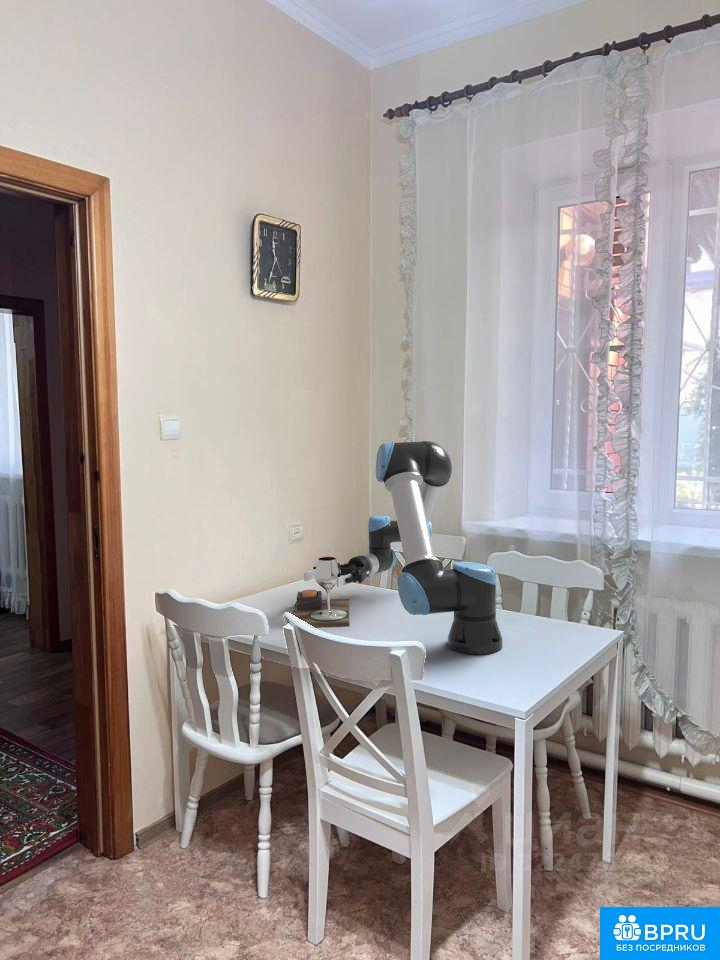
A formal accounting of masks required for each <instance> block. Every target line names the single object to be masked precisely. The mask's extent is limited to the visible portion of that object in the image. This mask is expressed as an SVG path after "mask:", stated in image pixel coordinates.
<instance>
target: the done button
mask: <svg viewBox="0 0 720 960" xmlns="http://www.w3.org/2000/svg"><path fill="white" fill-rule="evenodd" d="M317 591H318V590H316V589H304V590H301V592H302V597H316V596H317Z"/></svg>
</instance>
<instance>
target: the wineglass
mask: <svg viewBox="0 0 720 960" xmlns="http://www.w3.org/2000/svg"><path fill="white" fill-rule="evenodd" d="M316 562H317V563H316V566H315V567H316V570H315V578H314V579H315V581H316V583H317V584H318V585H319V586H320V587H321V588H322V589H324V590H325V592H326V600H327V611H322V612H320V613H319V615H320V616H323V617H333V616H337V615H338V614H339V612H337V611H333V610H330V600H331V599H330V598H331V597H330V593H331V590H332V589H333V588H334V587H336V586H337V579H336V578H338V577H341V576H340V573H341V570H339V566H338V563H339V562H338V560H337V558H336V557H333V556H322V557H319V558H318V559H317V561H316Z"/></svg>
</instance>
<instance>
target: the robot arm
mask: <svg viewBox="0 0 720 960" xmlns="http://www.w3.org/2000/svg"><path fill="white" fill-rule="evenodd" d="M452 471H453V465H452V461H451V457H450V456H449V454H448V452H447V451H446V450H445V449H444V447H442V446H441V445H440V444H438V443H436V442H434V441H428V440H423V441H404V442H395V441H392V442H384V443H382V444H380V445H379V448H378V449H377V453H376V459H375V477H376V480H377V482H380V483H383V484H384V489H385V491H388V492H390V493H391V498H392V503H393V508H394V512H395V513H394V514H395V519H396V520H391V517H390V516H388V515H385V514H382V515H381V514H379V515H372V516H370V517H369V519H368V523H367V524H368V527H367V528H368V529H367V531H368V552H367V553H363V554H360V555H357V556H354V557H351V558H350V559H349V560H348V562H347V563H343V564H341V563H340V562H337V563H338V566H339V570H340V577H338V578H336V579H337V584H336V587H337V588H340V587H342V586H346V585H349V584H352V583H357V582H358V584H361V583H363V582H364V581H365V579H366V578H370V576H372V575H376V574H378V573H381V572H387V571H388V570H390V569H393V568H394V567H395V565H396V564H397V561H398V560H397V555H396V552H395V551H394V550H393V549H392V548H391V543H401V548H402V552H403V557H404V558H403V559H404V565H403V566H402V568H401V573H400V574H398V576H397V587H398V589H397V591H398V596H399V599H400V602H401V605H402V606H403V608H404V610H405V611H406V612H407V613H409V614H410V615H413V616H417V615H418V616H421V615H423V616H427V615H432V614H443V613H453V618H452V619H453V620H452V623H451V625H450V629H449V633H448V635H447V646H448V648H450V649H451V650H452V651H454V652H458V653H462V654H468V655H488V654H493V653H496V652H499V651H500V650H502V648H503V636H502V633H501V631H500V627H499V624H498V621H497V580H496V571H495V570H494V568H493V567H491V566H489V565H488V564H483V563H479V562H473V561H472V562H471V561H456V562H454V563H453V565H452V568H450V569H445V567H444V565H443V561H442V560H441V559H439V558H437V557H436V554H435V549H434V545H433V541H432V536H433V524H432V522H431V518H432V516H433V513H434V511H435V508H436V505H437V503H438V500H439V497H440V496H441V493H442V490H443V488H444V487H445V486H447V484H448V483H449V481H450V479H451V476H452V473H453V472H452ZM315 570H316V566H313V567H312V569H311V570H308V571H304V572H303V577H304V581H305V582H307V581H311V580H314V579H315Z"/></svg>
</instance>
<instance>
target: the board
mask: <svg viewBox="0 0 720 960" xmlns="http://www.w3.org/2000/svg"><path fill="white" fill-rule="evenodd" d="M316 591H317V596H316V597H302V591H297V595H296V600H295V604H294V609H293V612H292V615H293V614H294V615H295V616H296V617H298V618H299V619H301V620H303V621H305V622H307V623H308V624H310V625H312V626H314V627H313V628H333V627H350V609H349V607H350V606H349V599H348V598H340V599H339V598H338V599H336V598H335V599H330V610H333V611H337V612H339V614H338V615H337V616H333V617H323V616H320V615H319V613H320V612H322V611H327V599H323V597H322V596H323V591H322V590H316Z"/></svg>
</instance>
